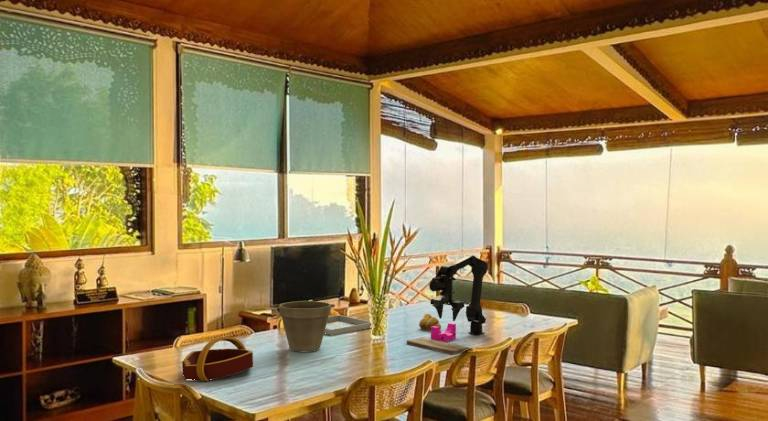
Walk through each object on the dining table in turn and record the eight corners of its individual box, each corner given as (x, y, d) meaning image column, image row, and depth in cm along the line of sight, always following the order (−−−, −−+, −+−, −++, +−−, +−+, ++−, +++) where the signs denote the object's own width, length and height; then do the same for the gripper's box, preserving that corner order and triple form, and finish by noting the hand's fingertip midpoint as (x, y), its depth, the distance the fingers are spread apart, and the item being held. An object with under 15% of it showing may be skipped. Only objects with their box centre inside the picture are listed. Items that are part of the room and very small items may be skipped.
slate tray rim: (339, 319, 382) (339, 314, 382) (374, 327, 360) (374, 322, 359) (296, 326, 361) (296, 321, 361) (331, 335, 338) (331, 330, 338)
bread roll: (444, 330, 354) (444, 315, 354) (432, 332, 347) (432, 317, 347) (427, 326, 363) (427, 312, 363) (415, 329, 356) (415, 314, 356)
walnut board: (422, 340, 328) (423, 337, 328) (468, 350, 306) (468, 347, 306) (406, 343, 320) (406, 340, 320) (452, 354, 298) (452, 351, 298)
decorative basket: (220, 364, 288) (215, 331, 289) (274, 361, 277) (270, 327, 278) (168, 386, 257) (163, 349, 257) (227, 383, 246) (222, 345, 246)
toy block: (439, 343, 322) (439, 328, 322) (430, 341, 326) (430, 326, 326) (459, 339, 332) (459, 324, 332) (450, 337, 337) (450, 322, 336)
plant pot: (310, 340, 326) (310, 298, 326) (341, 348, 309) (341, 304, 308) (269, 348, 309) (269, 304, 309) (299, 357, 291) (299, 310, 291)
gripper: (423, 289, 329) (423, 319, 330) (450, 293, 316) (450, 324, 316) (437, 287, 337) (437, 316, 337) (465, 290, 323) (465, 321, 324)
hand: (447, 319), depth 329 cm, fingers open, 9 cm apart
